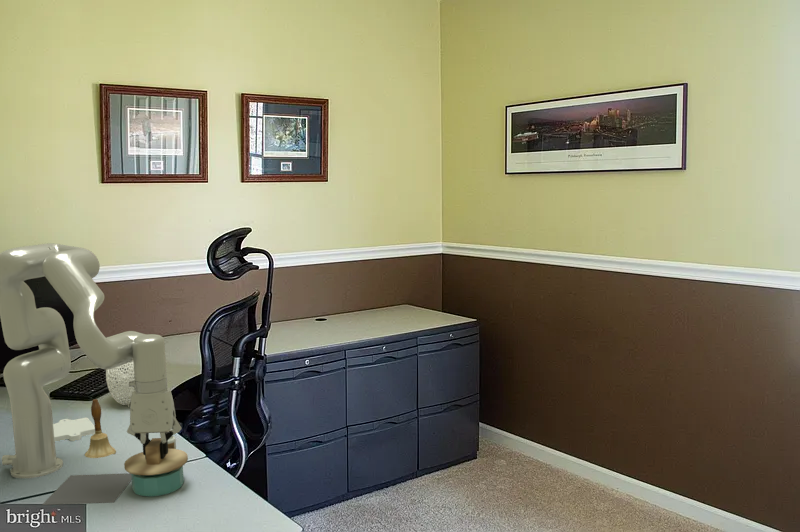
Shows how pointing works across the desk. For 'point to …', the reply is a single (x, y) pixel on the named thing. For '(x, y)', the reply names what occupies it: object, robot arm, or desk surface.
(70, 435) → the mounting plate
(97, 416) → the hand bell
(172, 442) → the pill bottle
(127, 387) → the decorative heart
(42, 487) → the desk surface
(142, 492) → the bowl
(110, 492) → the mat
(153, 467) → the lid
